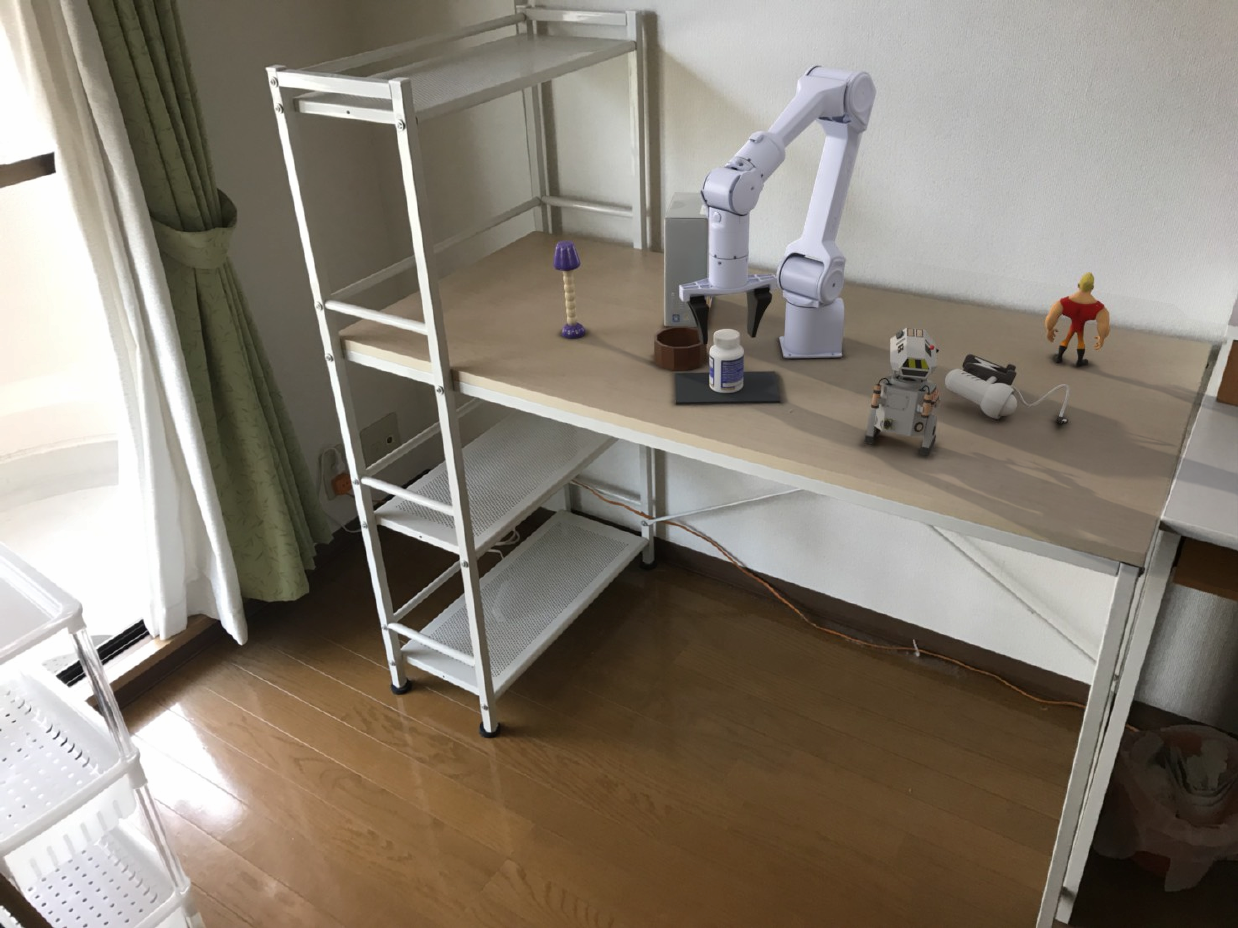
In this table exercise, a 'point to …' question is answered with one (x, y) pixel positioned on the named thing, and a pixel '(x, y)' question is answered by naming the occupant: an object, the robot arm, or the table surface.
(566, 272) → the toy lamp
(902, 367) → the figurine
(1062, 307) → the action figure
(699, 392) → the mat
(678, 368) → the brown bowl
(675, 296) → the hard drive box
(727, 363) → the pill bottle
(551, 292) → the table surface
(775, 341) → the table surface
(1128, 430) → the table surface
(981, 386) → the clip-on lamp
